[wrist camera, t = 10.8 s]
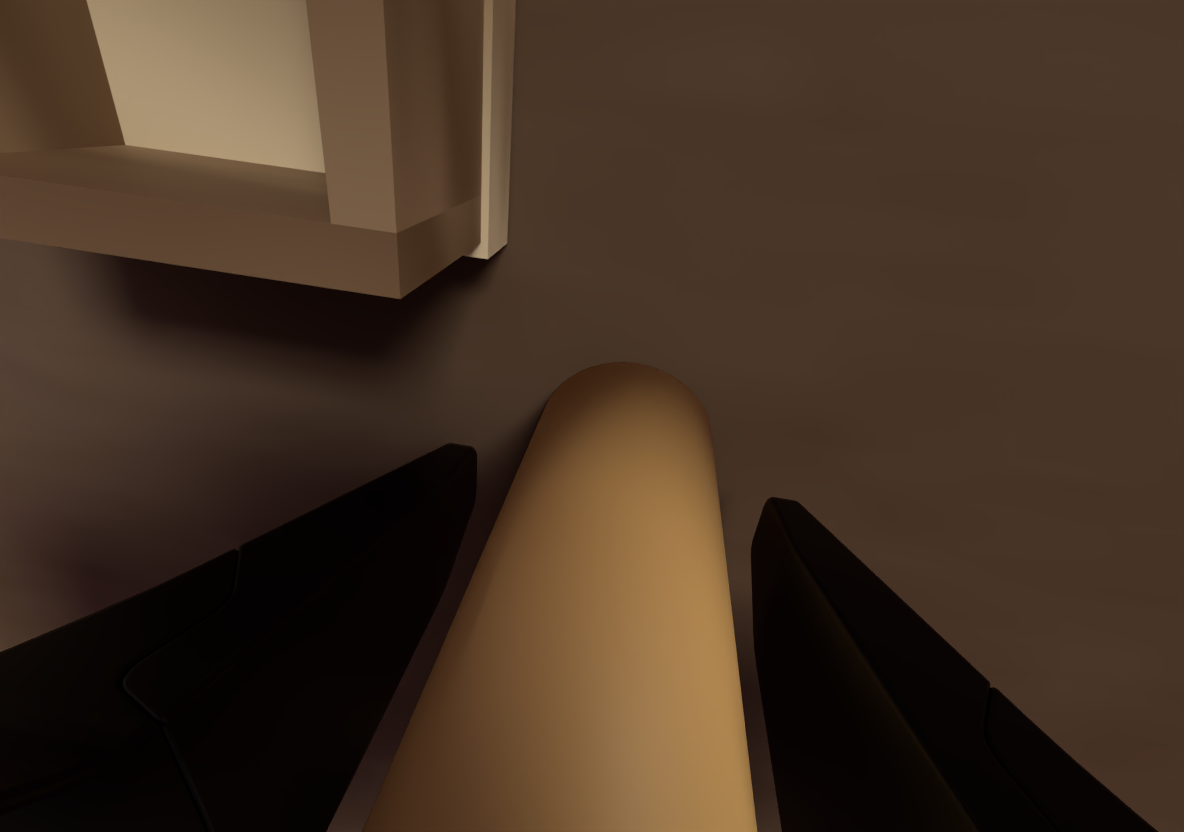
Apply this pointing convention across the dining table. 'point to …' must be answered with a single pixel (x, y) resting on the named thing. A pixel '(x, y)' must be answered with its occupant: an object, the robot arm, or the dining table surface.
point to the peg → (589, 638)
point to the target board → (261, 134)
